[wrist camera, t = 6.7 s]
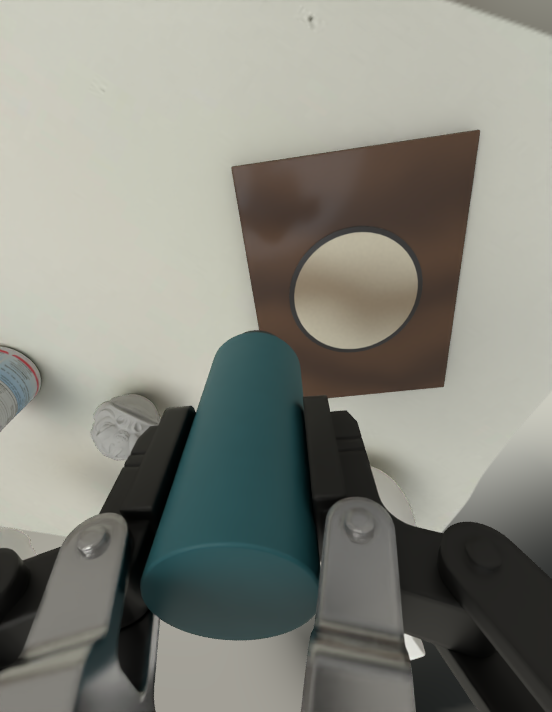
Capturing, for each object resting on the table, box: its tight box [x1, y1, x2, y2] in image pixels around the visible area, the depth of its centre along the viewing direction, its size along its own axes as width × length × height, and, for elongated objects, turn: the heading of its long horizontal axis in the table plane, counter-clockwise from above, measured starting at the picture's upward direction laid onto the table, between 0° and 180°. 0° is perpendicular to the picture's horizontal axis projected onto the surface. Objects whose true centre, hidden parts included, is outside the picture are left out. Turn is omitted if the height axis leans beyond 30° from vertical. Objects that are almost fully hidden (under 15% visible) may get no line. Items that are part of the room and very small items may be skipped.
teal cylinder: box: [140, 330, 321, 640], centre depth 10 cm, size 3×3×9 cm
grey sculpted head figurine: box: [91, 394, 160, 460], centre depth 31 cm, size 6×7×7 cm
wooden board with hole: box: [231, 130, 480, 398], centre depth 28 cm, size 20×16×1 cm
